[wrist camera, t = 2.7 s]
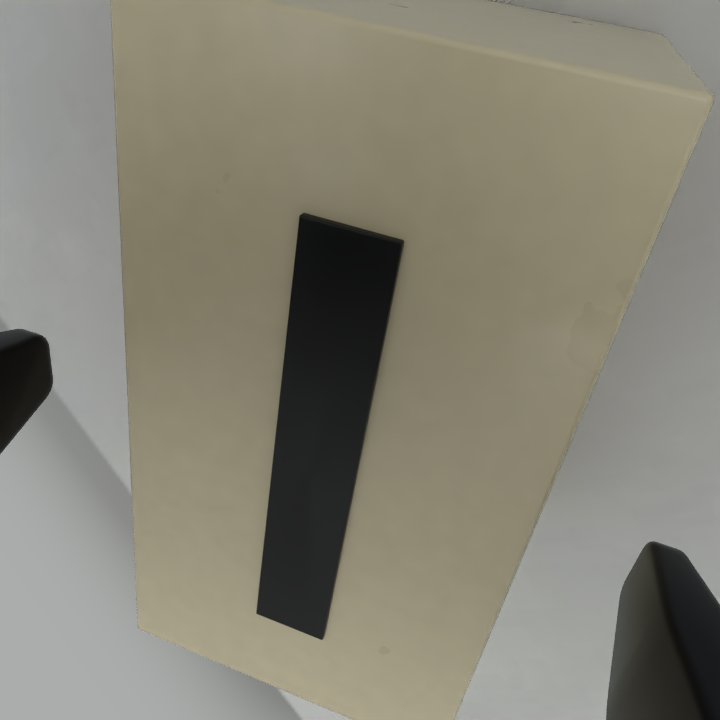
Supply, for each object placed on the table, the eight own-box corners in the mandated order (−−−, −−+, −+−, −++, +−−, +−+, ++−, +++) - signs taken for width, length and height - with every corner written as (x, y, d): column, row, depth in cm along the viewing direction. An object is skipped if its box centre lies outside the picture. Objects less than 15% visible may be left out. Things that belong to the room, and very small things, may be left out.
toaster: (285, 425, 18) (132, 633, 13) (339, -30, 13) (99, -34, 7) (497, 498, 17) (437, 763, 11) (666, 34, 11) (719, 96, 6)
